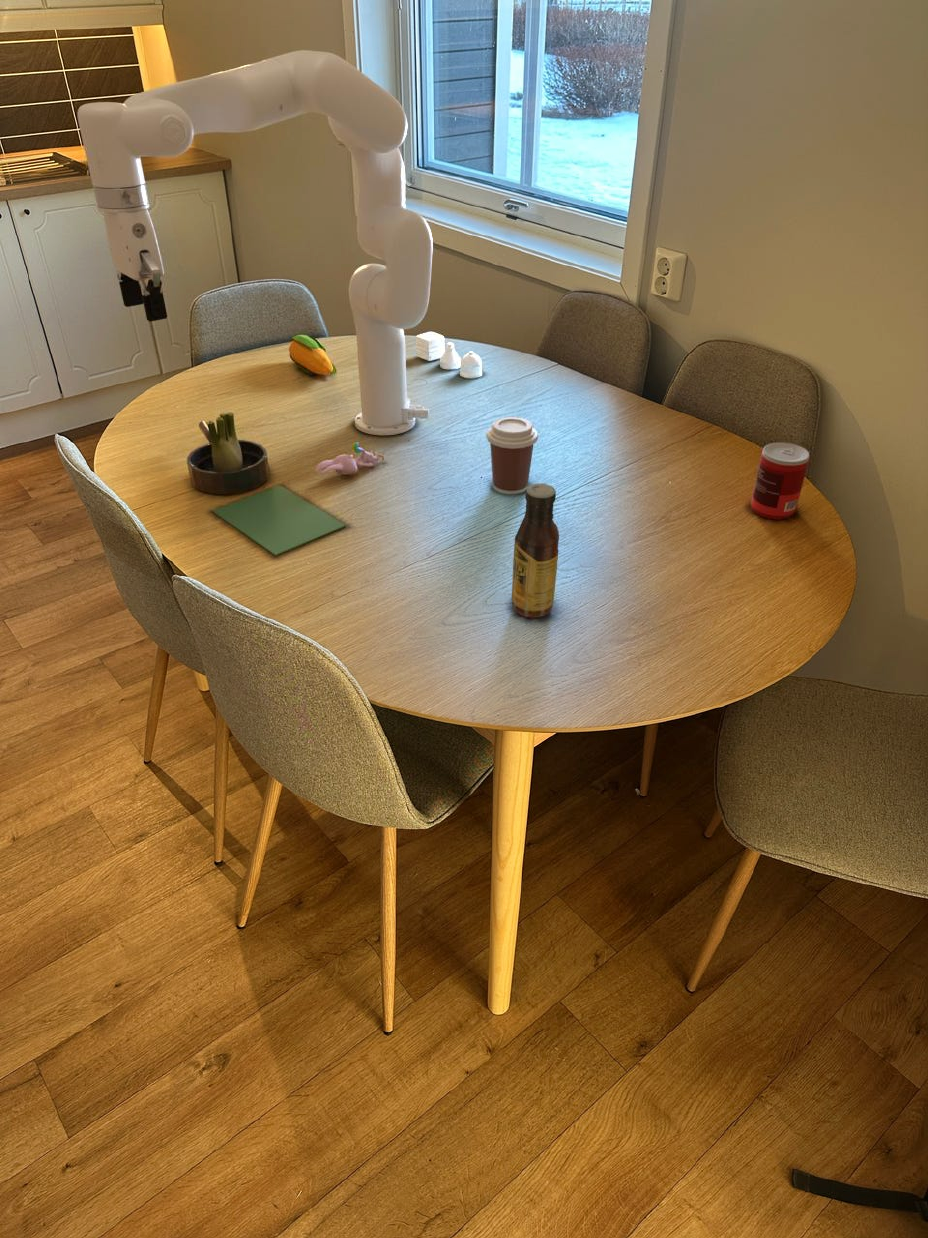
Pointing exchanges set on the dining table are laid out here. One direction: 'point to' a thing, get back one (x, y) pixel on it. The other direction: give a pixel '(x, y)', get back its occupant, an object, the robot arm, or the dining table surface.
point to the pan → (229, 481)
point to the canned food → (779, 480)
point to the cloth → (278, 520)
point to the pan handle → (205, 430)
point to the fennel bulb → (225, 444)
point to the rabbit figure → (350, 461)
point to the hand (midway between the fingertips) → (145, 312)
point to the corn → (310, 355)
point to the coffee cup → (511, 453)
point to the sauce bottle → (536, 554)
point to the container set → (447, 355)
